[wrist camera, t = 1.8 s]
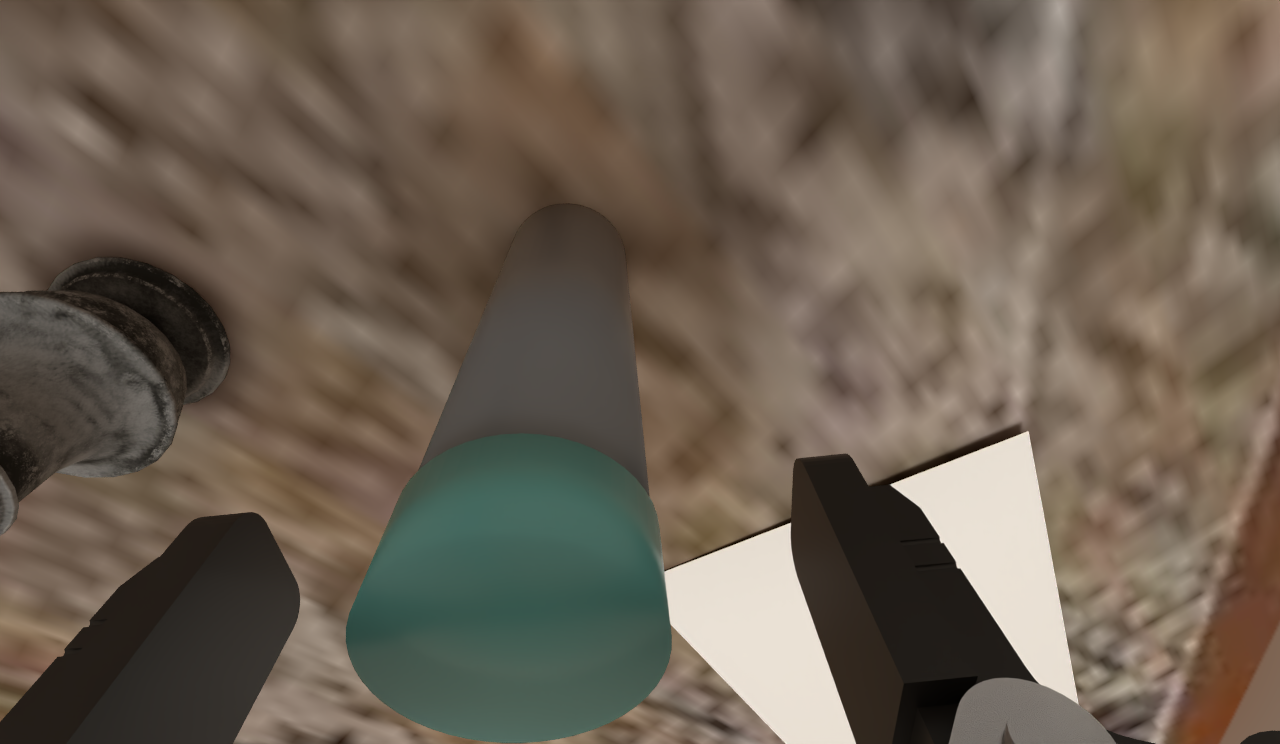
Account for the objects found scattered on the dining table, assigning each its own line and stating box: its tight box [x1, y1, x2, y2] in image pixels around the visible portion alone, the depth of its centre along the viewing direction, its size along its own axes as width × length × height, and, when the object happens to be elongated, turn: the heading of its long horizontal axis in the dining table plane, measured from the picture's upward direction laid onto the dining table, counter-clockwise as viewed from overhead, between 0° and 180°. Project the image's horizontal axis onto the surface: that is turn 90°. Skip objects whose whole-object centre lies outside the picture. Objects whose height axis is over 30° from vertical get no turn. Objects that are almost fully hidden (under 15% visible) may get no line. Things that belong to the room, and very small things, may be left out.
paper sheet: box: [664, 431, 1079, 744], centre depth 31 cm, size 24×29×1 cm
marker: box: [346, 204, 672, 743], centre depth 13 cm, size 4×4×14 cm
